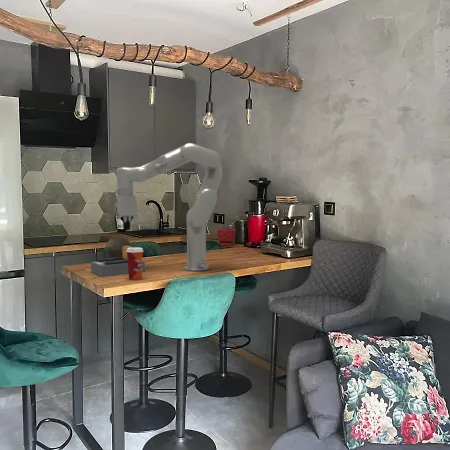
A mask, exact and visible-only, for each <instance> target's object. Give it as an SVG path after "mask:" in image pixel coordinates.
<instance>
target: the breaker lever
mask: <svg viewBox="0 0 450 450" xmlns="http://www.w3.org/2000/svg"><path fill="white" fill-rule="evenodd" d="M131 246H132V245H131ZM131 246H123V258H124V259H126V260H128V259H127V252H126V251H127V248H132V247H133V246H132V247H131Z"/></svg>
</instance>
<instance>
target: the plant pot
mask: <svg viewBox="0 0 450 450" xmlns="http://www.w3.org/2000/svg"><path fill="white" fill-rule="evenodd" d="M236 231H237V229H236V228H232V227H231V228H230V227H229V228H228V227H218V228H217V231H216V232H217V240H218V242H219V244H220V245H219V244H218V245H219V246H222V247H223V246H225V247H229V246H233V245H234V244H235V242H234V241H235V239H236V234H237V233H236Z"/></svg>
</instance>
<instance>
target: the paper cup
mask: <svg viewBox="0 0 450 450" xmlns="http://www.w3.org/2000/svg"><path fill="white" fill-rule="evenodd" d="M126 252H127V259H128V273H129V274H128V280H129V281H130V280H132V281H135V280H136V281H139V280H141V279H142V277H143V276H142V273H143V272H142V261H143V255H144V254H143V253H144V249H143V248H142V247H137V246H136V247H133V246H132V248H127V251H126Z"/></svg>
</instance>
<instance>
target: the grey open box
mask: <svg viewBox="0 0 450 450" xmlns="http://www.w3.org/2000/svg"><path fill="white" fill-rule="evenodd" d="M90 272H91V273H92V274H95V275H97V276H100V277H101V278H102V277H103V278H104V277H110V276H119V275H127V274H128V275H129V273H128V260H126V259H124V258H123V257H116V258H108V257H106V258H97V259H96V261H91V262H90ZM145 272H146V263H145V261H144V260H142V273H145Z"/></svg>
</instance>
